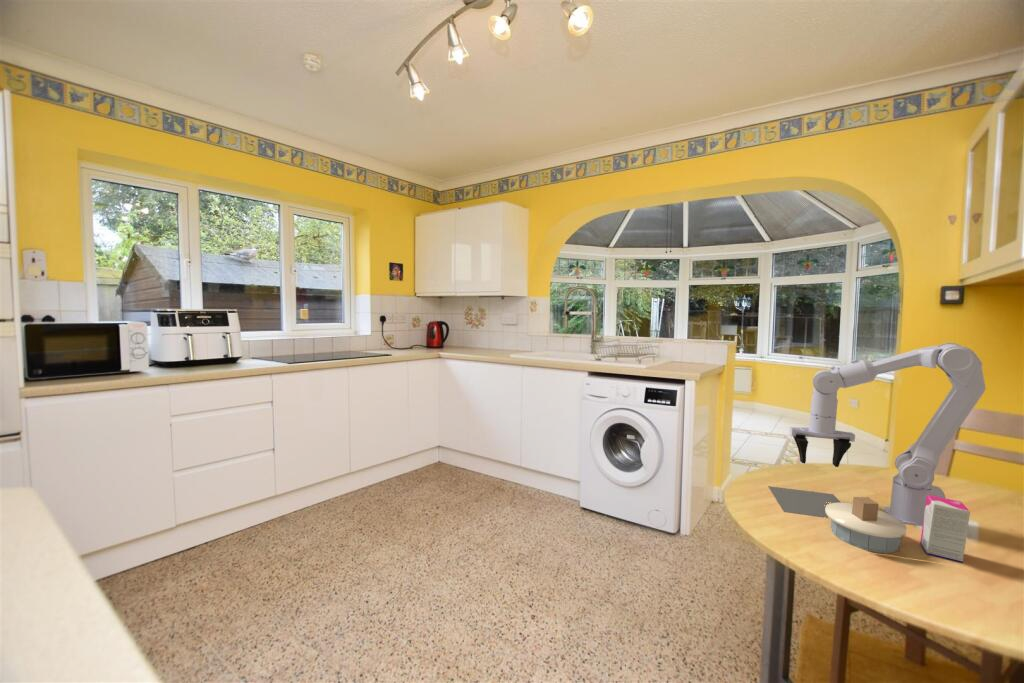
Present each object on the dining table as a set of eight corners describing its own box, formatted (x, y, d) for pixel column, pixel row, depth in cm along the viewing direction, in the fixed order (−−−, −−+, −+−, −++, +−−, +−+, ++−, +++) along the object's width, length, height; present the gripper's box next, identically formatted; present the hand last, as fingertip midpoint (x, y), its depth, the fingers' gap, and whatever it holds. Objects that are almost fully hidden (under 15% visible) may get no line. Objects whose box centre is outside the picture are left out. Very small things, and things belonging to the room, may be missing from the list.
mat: (833, 495, 123) (833, 494, 123) (858, 523, 107) (858, 521, 107) (767, 487, 127) (768, 486, 127) (783, 512, 112) (783, 511, 112)
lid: (872, 506, 107) (874, 487, 107) (924, 539, 93) (927, 517, 93) (811, 504, 108) (812, 485, 108) (853, 536, 94) (856, 514, 93)
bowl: (882, 530, 104) (884, 513, 104) (911, 558, 93) (913, 540, 93) (823, 521, 108) (824, 505, 108) (843, 548, 97) (845, 530, 96)
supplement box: (964, 564, 91) (971, 511, 90) (925, 555, 94) (931, 503, 93) (955, 551, 96) (961, 500, 95) (919, 542, 99) (924, 493, 98)
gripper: (848, 413, 121) (844, 462, 122) (787, 408, 125) (784, 455, 126) (860, 420, 114) (855, 471, 115) (795, 415, 118) (791, 464, 120)
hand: (818, 463), depth 120 cm, fingers open, 7 cm apart
